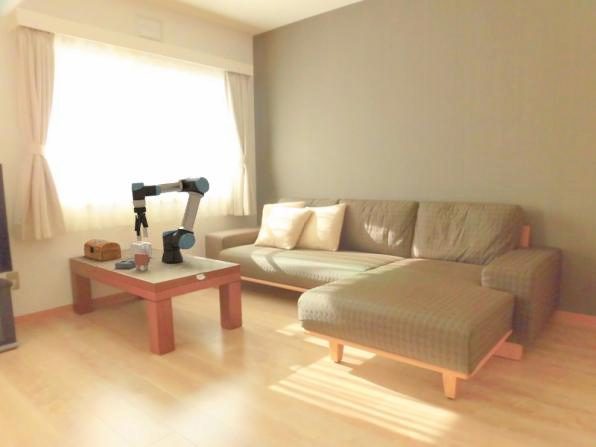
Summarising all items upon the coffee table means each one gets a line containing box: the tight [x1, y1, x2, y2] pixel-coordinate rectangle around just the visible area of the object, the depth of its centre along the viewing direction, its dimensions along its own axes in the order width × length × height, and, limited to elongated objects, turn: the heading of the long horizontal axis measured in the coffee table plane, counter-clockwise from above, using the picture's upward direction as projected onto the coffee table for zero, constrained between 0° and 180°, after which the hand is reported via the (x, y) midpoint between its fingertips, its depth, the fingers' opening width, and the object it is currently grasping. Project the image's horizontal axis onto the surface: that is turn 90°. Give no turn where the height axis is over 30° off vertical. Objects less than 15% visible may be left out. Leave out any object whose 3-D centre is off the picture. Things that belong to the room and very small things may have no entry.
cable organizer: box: [129, 241, 153, 258], centre depth 318 cm, size 15×11×12 cm
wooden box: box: [83, 238, 122, 262], centre depth 321 cm, size 30×16×14 cm, turn 49°
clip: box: [134, 253, 150, 271], centre depth 276 cm, size 3×8×11 cm, turn 77°
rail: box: [114, 257, 151, 270], centre depth 293 cm, size 24×11×4 cm, turn 167°
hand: (142, 239), depth 269 cm, fingers open, 13 cm apart
